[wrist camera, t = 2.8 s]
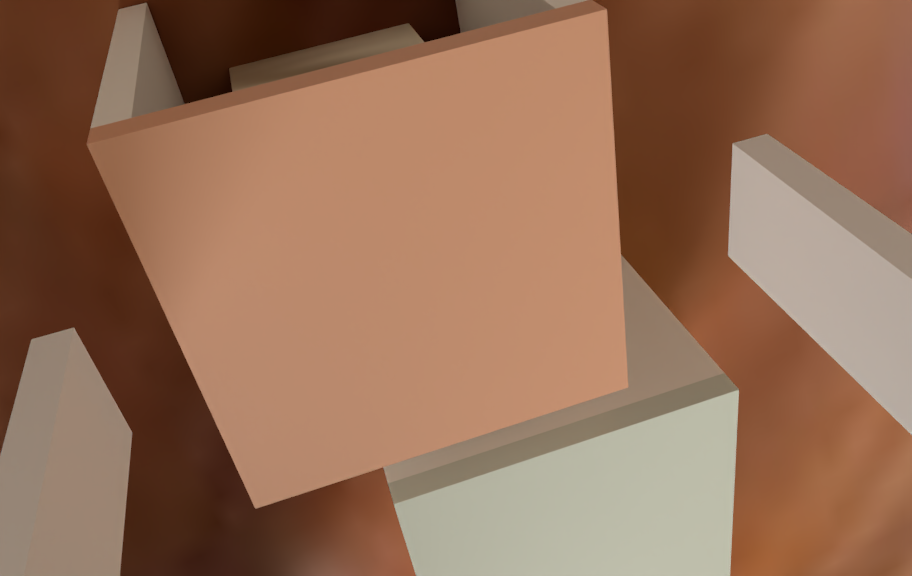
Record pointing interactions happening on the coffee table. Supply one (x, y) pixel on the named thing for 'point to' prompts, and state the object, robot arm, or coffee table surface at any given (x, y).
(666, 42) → the coffee table surface
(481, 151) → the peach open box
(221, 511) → the coffee table surface
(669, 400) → the pale green cube
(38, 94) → the coffee table surface
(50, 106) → the coffee table surface
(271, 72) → the block
